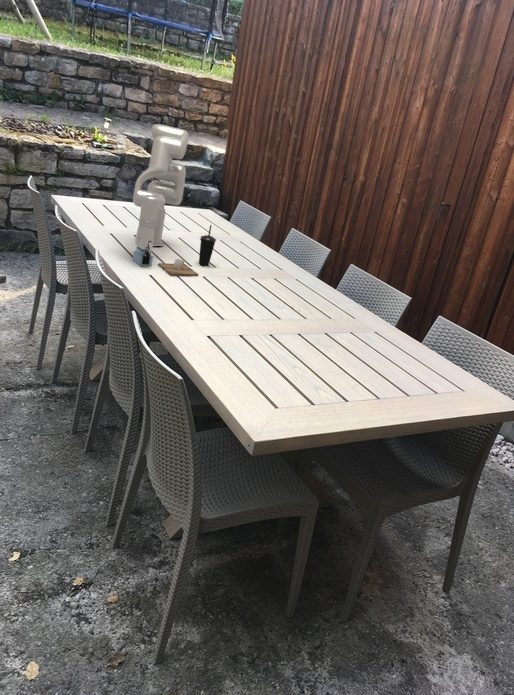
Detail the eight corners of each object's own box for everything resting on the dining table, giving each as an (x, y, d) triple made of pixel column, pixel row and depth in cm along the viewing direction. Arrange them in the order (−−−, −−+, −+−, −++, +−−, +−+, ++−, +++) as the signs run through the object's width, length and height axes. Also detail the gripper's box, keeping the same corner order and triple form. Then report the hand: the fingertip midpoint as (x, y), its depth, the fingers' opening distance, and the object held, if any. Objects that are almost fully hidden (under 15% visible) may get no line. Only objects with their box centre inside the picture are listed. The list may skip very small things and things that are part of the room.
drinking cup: (212, 264, 291) (219, 225, 283) (209, 268, 284) (217, 228, 276) (197, 261, 291) (204, 222, 283) (194, 265, 284) (201, 224, 276)
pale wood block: (173, 268, 267) (174, 260, 266) (176, 266, 270) (177, 258, 269) (180, 270, 267) (181, 262, 265) (182, 268, 270) (184, 260, 268)
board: (157, 265, 270) (158, 263, 270) (184, 266, 278) (185, 264, 278) (170, 276, 260) (170, 273, 259) (198, 276, 268) (198, 274, 267)
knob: (132, 261, 268) (134, 245, 265) (145, 261, 272) (148, 246, 269) (137, 266, 263) (139, 250, 260) (151, 266, 267) (153, 251, 264)
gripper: (132, 217, 264) (127, 255, 271) (147, 228, 252) (142, 267, 259) (147, 218, 269) (142, 255, 276) (163, 229, 256) (157, 268, 263)
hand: (142, 261), depth 267 cm, fingers closed on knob, 6 cm apart
